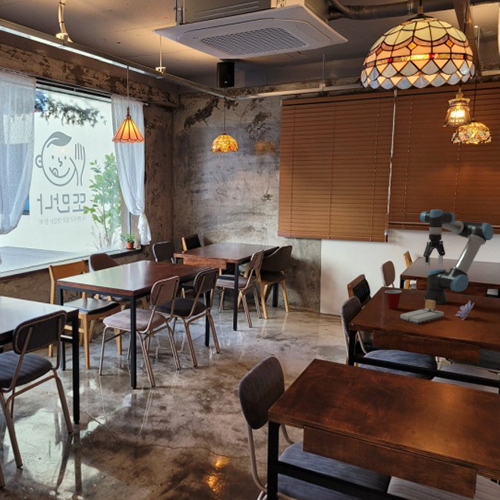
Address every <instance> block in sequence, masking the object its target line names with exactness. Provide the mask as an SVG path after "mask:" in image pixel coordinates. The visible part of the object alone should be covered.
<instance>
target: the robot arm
mask: <svg viewBox="0 0 500 500" xmlns="http://www.w3.org/2000/svg"><path fill="white" fill-rule="evenodd" d="M419 220H420V222H422V223H425V224H429V228H428V234H429V235H428V240H429V241H427V242H426V247H425V249H424V251H423V254H422V256H423V258H425V262H424V263H425V266H424V268H428V269H429V268H431V267H430V266H431V255H432V252H433V251H434V250H436V251H437V253H438V259H437V266H441V267H442V266H443V258H444V256H446V249H445V247H444V240H442V238H443V237H442V236H443V234H442V233H443V232H442V231H443V229H444V230H448V231H450V232H451V233H453V234H454V235H456V236H460V237H462V238H466V239H468V240H467V242H466V244H465V246H464V248H463V250H462V252H461V254H460V256H459V258H458V259H457V261H456V263H455V264H454V266H453V267H451V268H450V269H449V270H448V271H447V269H446V268H434V269H429V270H428V272H427V284H426V285H427V286H426V287H427V288H426V293H425V294H424V297H423V302H425V300H428V299H429V300H433V301H436V303H435V305H443V304H448V297H447V293H446V290H447V291H448V290H449V291H452V292H463V291H465V290H466V289H467V287H468V285H469V281H470V279H469V275H468V271H469V269H470V268H471V266H472V264H473V261H474V260H475V258H476V256H477V254H478V252H479V251H480V248H481V247H482V246H483V245H485V244H486V242H487V241H491V240H492V239H493V237H494V228H493V226H492V224H491V223H489V222H474V221H461V220H456V215H455V213H454V212H451V211H447V212H446V211H445V212H443V210H442V209H431V210H430V211H422V212H421V213H420V216H419Z"/></svg>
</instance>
